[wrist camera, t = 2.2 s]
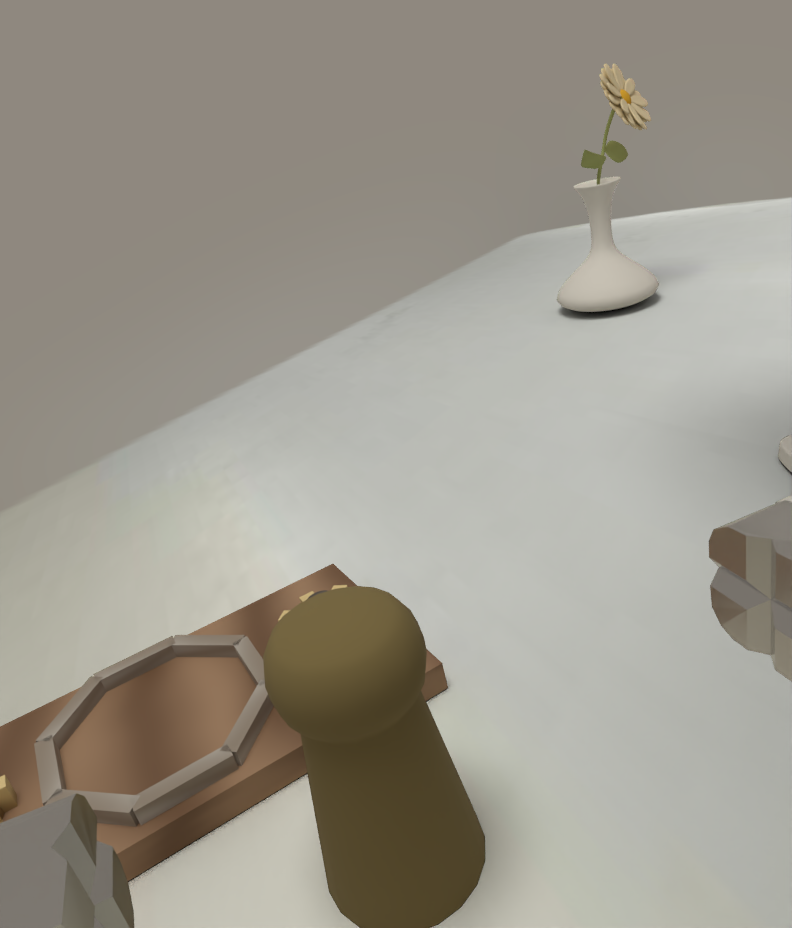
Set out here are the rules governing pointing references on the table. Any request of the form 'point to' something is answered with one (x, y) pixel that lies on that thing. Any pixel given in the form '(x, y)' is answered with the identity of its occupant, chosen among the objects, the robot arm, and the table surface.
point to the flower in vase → (608, 217)
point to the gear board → (169, 735)
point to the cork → (374, 759)
